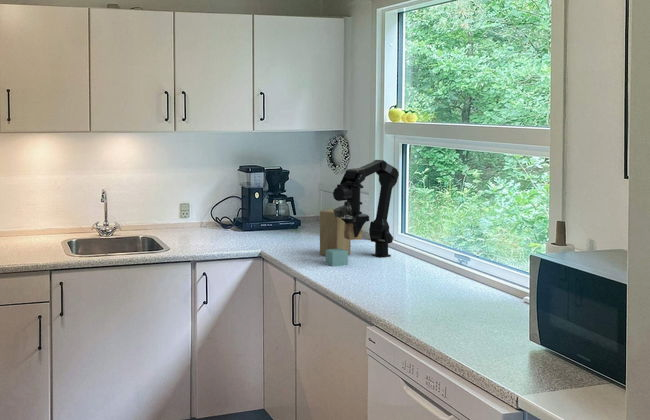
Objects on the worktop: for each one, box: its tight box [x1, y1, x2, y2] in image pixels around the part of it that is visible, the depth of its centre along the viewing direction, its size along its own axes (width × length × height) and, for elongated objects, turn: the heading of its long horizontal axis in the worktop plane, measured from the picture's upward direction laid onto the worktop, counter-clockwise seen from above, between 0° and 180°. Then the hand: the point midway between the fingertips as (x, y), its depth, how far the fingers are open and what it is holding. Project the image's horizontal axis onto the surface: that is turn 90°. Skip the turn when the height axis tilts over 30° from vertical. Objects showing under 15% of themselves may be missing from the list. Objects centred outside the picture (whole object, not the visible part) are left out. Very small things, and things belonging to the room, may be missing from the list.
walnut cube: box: [344, 224, 363, 241], centre depth 341 cm, size 6×6×6 cm
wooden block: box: [319, 208, 352, 257], centre depth 360 cm, size 10×10×20 cm
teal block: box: [325, 248, 349, 267], centre depth 340 cm, size 7×7×6 cm
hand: (352, 236), depth 342 cm, fingers closed on walnut cube, 5 cm apart
